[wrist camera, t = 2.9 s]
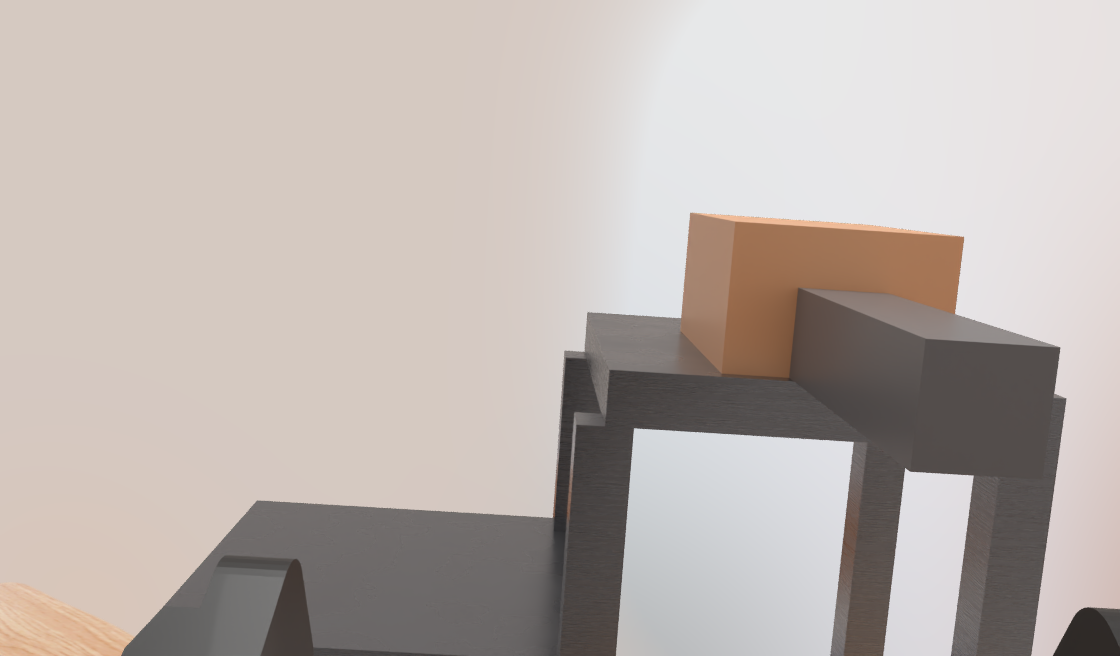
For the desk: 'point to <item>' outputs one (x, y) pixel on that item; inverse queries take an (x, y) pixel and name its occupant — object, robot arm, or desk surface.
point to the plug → (871, 338)
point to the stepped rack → (600, 525)
